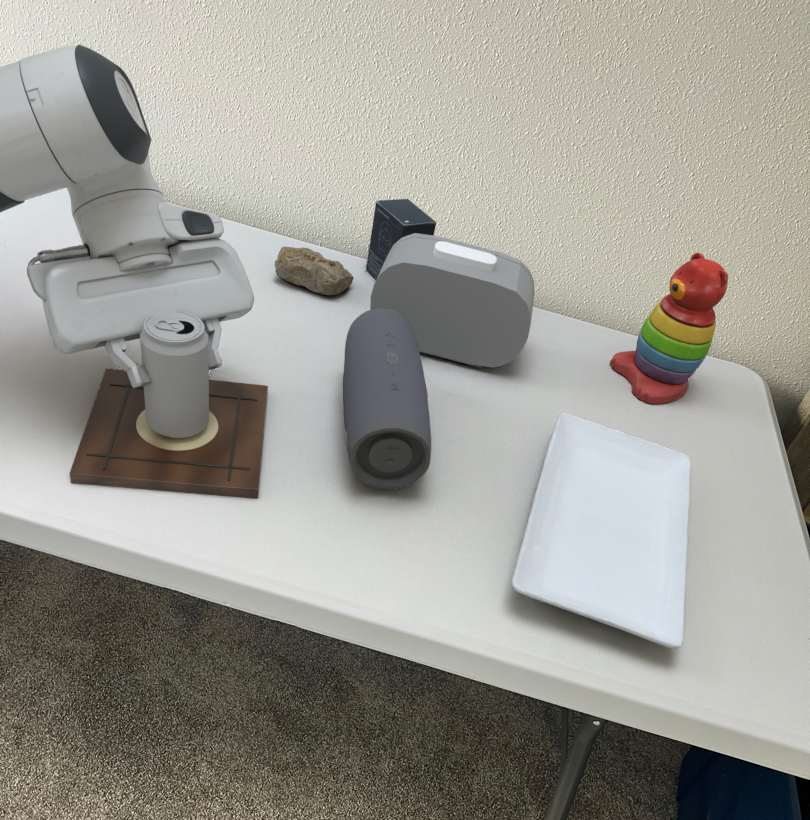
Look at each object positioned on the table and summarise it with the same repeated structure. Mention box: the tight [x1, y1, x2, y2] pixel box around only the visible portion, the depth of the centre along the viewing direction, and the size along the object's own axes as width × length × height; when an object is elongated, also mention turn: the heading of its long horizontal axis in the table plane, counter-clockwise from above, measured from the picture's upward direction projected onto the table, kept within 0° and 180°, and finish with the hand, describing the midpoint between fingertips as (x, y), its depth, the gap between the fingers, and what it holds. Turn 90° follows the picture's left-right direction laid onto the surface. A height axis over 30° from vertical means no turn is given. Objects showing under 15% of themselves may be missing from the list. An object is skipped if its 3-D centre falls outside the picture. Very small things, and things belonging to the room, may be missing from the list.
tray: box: [510, 412, 692, 650], centre depth 84 cm, size 17×32×4 cm, turn 163°
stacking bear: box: [609, 252, 729, 405], centre depth 104 cm, size 11×10×18 cm
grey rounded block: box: [369, 233, 535, 369], centre depth 102 cm, size 21×10×13 cm, turn 80°
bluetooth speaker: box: [342, 308, 432, 490], centre depth 87 cm, size 23×9×10 cm, turn 4°
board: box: [68, 367, 269, 499], centre depth 84 cm, size 18×18×1 cm
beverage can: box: [139, 310, 210, 438], centre depth 79 cm, size 6×6×12 cm
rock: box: [274, 245, 354, 296], centre depth 110 cm, size 8×11×4 cm
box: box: [365, 198, 437, 280], centre depth 113 cm, size 8×6×11 cm
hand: (179, 376), depth 78 cm, fingers closed on beverage can, 6 cm apart
